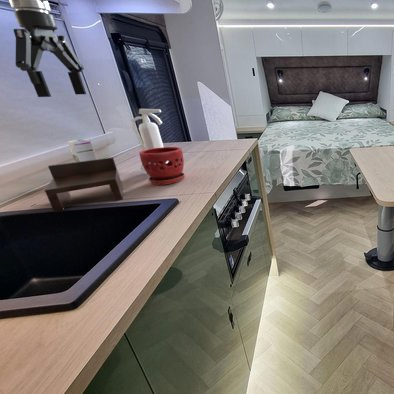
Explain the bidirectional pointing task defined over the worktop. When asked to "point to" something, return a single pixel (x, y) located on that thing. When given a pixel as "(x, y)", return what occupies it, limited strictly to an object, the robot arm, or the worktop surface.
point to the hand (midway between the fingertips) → (64, 95)
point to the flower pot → (163, 164)
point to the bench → (82, 180)
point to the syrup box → (82, 150)
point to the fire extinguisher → (148, 130)
